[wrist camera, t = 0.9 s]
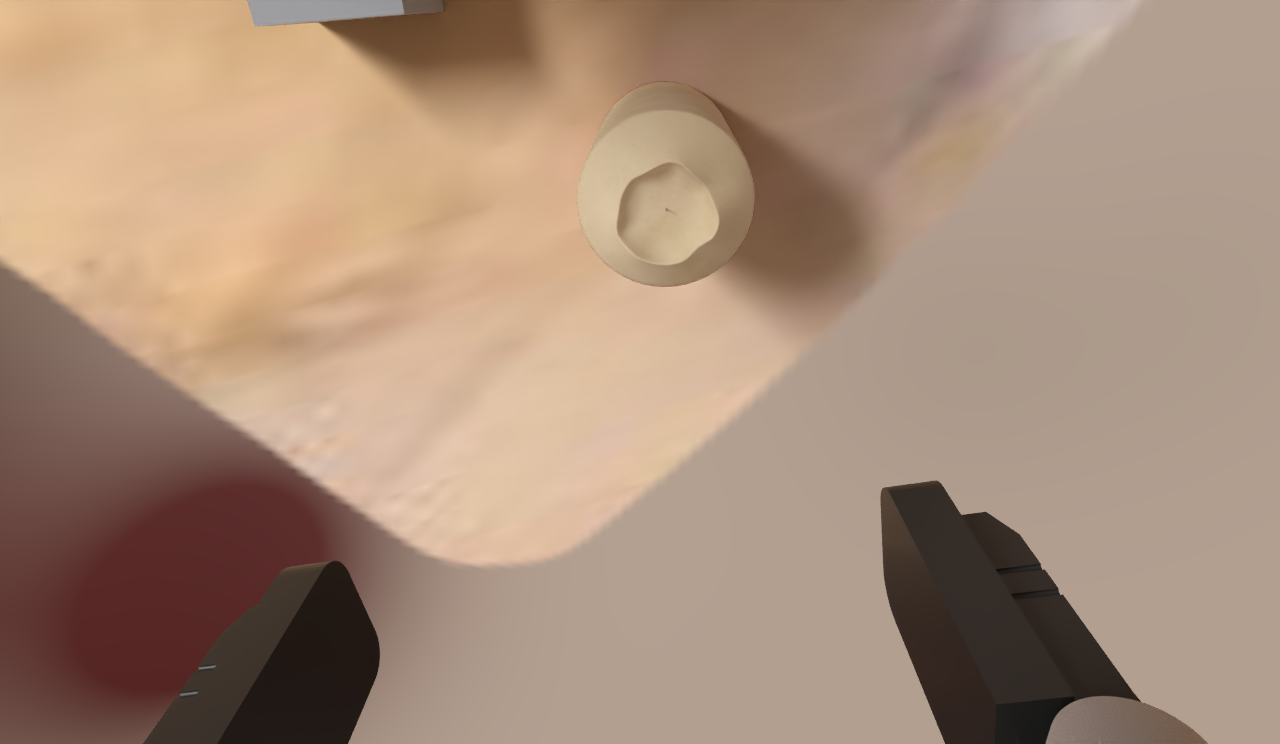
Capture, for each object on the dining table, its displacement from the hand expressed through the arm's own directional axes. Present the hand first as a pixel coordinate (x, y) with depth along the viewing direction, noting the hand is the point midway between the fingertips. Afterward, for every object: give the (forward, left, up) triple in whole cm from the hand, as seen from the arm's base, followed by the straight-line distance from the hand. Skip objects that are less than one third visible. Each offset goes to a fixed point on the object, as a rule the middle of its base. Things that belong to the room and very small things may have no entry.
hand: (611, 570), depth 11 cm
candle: (-2, +1, -23) cm, 23 cm away
